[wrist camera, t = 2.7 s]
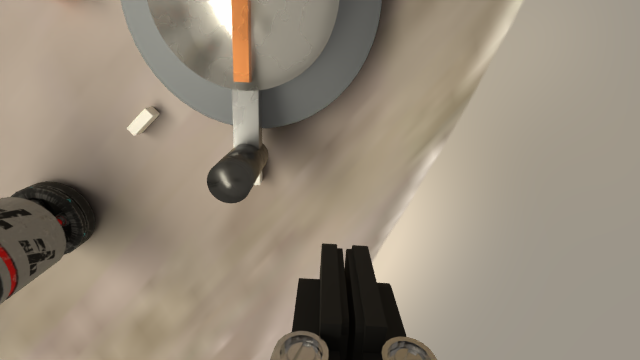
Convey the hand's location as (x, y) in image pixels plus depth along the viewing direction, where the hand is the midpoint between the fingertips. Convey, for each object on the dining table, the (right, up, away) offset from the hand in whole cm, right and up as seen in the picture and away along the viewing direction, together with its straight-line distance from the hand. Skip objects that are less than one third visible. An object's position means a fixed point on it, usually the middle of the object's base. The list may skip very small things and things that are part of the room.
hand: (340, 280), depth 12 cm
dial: (-6, +13, +11) cm, 18 cm away
